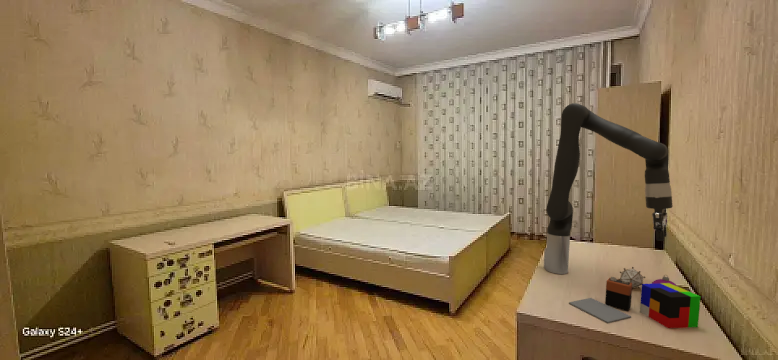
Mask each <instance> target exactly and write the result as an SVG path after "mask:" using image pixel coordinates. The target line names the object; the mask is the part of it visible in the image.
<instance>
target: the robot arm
mask: <svg viewBox="0 0 778 360" xmlns="http://www.w3.org/2000/svg"><path fill="white" fill-rule="evenodd" d="M582 128H583V129H586V130H588V131H591V132H593V133H595V134H597V135H599V136H601V137H603V138H604V139H606V140H607V141H609V142H611V143H613V144H615V145H616V146H619V147H621V148H624V149H625V150H629V151H631V152H632V153H634V154H636V155H637V156H639V157H641V158H643V159H644V160H645V169H644V186H645V187H644V196H645V206H646V208H647V209H652V210H653V211H654V212H653V213H652V214H651V217H652V224H653V229H654V231H655V241H658V242H663V241H665V238H666V237H667V236H668V235H667V226H668V212H667V209H672V208H673V207H674V206H673V196H672V195H673V194H672V193H673V191H672V187H671V181H670V172H669V157H670V155H669V148H668V146H667V145H666V144H664V143H662V142H660V141H659V142H658V141H656V140H654V139H651V138H649V137H646V136H643V135H642V134H641V133H639V132H637V131H634V130H632V129H630V128H628V127H625V126H623V125H620V124H618V123H615V122H612V121H609V120H607V119H605V118H603V117H601V116H600V115H598V114H596V113H594V112H592V110H590V109H589V108H587V106H585V105H582V104H581V103H576V102H574V103H569V104H568V105H565V107H564V108H563V110H562V112H561V118H560V135H559V141H558V145H557V149H556V155H555V162H554V168H553V175H552V182H551V189H550V194H549V196H548V197H549V198H548V201H547V203H546V214H547V216H548V217H549V222H548V223H549V224H548V225H547V228H546V229H547V231H546V246H545V248H544V253H543V268H544V269H545V271H546V272H549V273H552V274H557V275H564V274H565V275H567V274H568V273H569V264H570V263H569V260H570V240H571V230H572V227H573V217H574V216H573V215H574V207H573V204H572V203H571V202H570V201H569V199H570V192H571V189H572V186H573V184H574V182H575V179H576V177H577V174H578V171H579V168H580V167H579V165H580V160H581V149H580V140H579V139H580V132H581V129H582Z"/></svg>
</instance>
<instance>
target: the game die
mask: <svg viewBox="0 0 778 360" xmlns="http://www.w3.org/2000/svg"><path fill="white" fill-rule="evenodd" d="M641 272H642V271H637V270H636V269H634V267H633V266H632V268H628V269H626V268H625V267H624V268H623V271H619V273H620V278H618V279H619V280H622V279H626V280H628V281H629V282H631V283H632V289H635V288H637V289H640V288H641V287H640V286H642V284H644V279H645V278H646V276H643V275H642V274H641Z"/></svg>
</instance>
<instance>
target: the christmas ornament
mask: <svg viewBox="0 0 778 360" xmlns="http://www.w3.org/2000/svg"><path fill="white" fill-rule="evenodd" d="M656 283H670V284H672V285H675V286H677V287H679V286H678V285H677V284H676V283H675V282H674V281H671V280H670V277H669V276H666V274H664V275H663V276H662V278H657V279H655V280H653V281H652V283H651V284H656Z"/></svg>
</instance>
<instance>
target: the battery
mask: <svg viewBox="0 0 778 360" xmlns="http://www.w3.org/2000/svg"><path fill="white" fill-rule="evenodd" d="M619 279H620V278H616V276H615V277H614V276H611V277H609V278H608V279H607V280H606V284H605V297H604V298H605V301H604V302H605V303H604V304H606V305H608V306H610V307H612V308H614V309H617V310H620V311H621V310H622V311H626V312H629V311H630V309H631V306H632V296H633V288H632V283H631V282H629V281H628V280H626V279H622V280H619Z"/></svg>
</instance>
